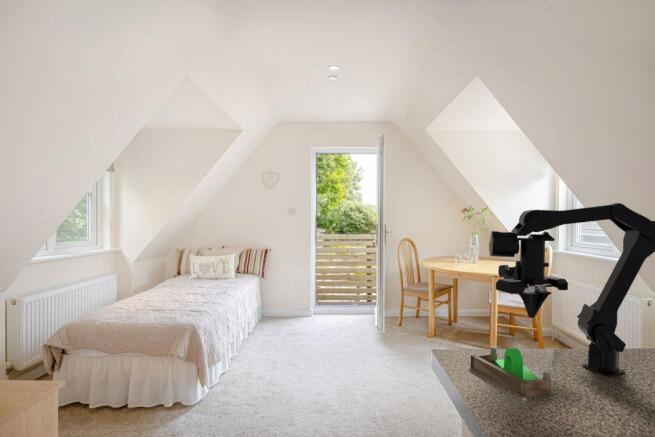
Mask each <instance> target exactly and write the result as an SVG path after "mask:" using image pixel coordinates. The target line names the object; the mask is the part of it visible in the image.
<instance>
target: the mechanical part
mask: <svg viewBox="0 0 655 437" xmlns="http://www.w3.org/2000/svg"><path fill="white" fill-rule="evenodd" d="M522 355H523V354H522V353H521V351H520V349H518V348H511V347H510V348H506V349H505V351H504V356H503V357H504V358H503V359H498V358H497V359H494V365H495V366H497V367H499V368H501V369H503V370H505V371H507V372H509V373H511V374H513V375H514V376H516V377H518V378H520V379H522V380H524V381H530V380H536V379H540V378H539V377H538V376H536V375H535V374H534V373H533V372H532V371H531V370H530V369H529V368H527V367H526V365H525V364H524V361H523V356H522Z"/></svg>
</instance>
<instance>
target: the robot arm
mask: <svg viewBox="0 0 655 437" xmlns="http://www.w3.org/2000/svg"><path fill="white" fill-rule="evenodd" d="M518 218H519V219H518V223H517V224H516V225H515V226H514V228H512V229H511V231H498V230H491V233H490V238H489V243H488V249H489V250H488V251H489V256H490V257H497V258H498V257H499V258H500V257H501V258H504V257H505V258H514V257H515V255H518V254H519V253H520V256H519V257H520V258H519V260H516V262H515V266H509V265H508V264H501V265H498V277H499V278H498V279H497V280H496V282H495V290H496V291H499V292H503V293H507V294H509V295H519V297H520V298H521V300H522V302H523V305H524V308H525V311H526V313H527V316H528V318H530V319H534V318H535V317H536V316H537V314H538V312H539V310H540V309H541V307H542V306H543V304H544V302H545V301H546V299H547V298H548V296H550V295H552V292H551V291H547V290H548V288H552V287H553V288H556V289H557V290H558V291H569V282H568V281H567V280H566V279H565V278H563V277H557V276H551V275H548V276H546V275H545V274H546V269H545V268H549V267H550V263H549V262H546V242H554V241H555V238H554V237H553V236H552V235H551V234H550V233H549V231H548V230H551V229H554V228H558V227H560V226H561V227H562V226H563V225H571V224H580V223H588V222H589V223H590V222H597V221H599V222H600V221H606V220H607V221H608V220H610V222H612V223H613V224H614V226H616V227H617V228H619V229H620V230H621V231H623V232H624V235H623V236H624V237H623V239H622V253H621V254H620V256H619V258H618V260H617V262H616V264H615V265H614V268H613V269H612V272H611V274H610V275H609V277H608V279H607V280H606V282H605V284H604V286H603V288H602V290H601V292H600V295H598V297H597V300H596V301H595V302H594V303H592V304H591V305H590V306H589V305H588V304H587V303H584V304H583V306H582V308H581V311H580V312H579V314H578V315H576V318H577V319H578V320H577V327H578V328H579V330H580V332H582V334H584V335H585V337H586V340H587V341H589V342H590V343H589V344H588V352H587V363H582V367H584V368H586V369H588V370H591V371H593V372H596V373H598V374H601V375H603V376H606V377H610V376H615V375H617V376H618V375H622V374H625V373H626V370H624V369H621V368H620V353H623V352H624V350H625V347H626V345H627V344H626V343H625V342H624V340H622V339H621V337H619V336H618V335H617V334H616V333H615V332H616V330H617V329H616V328H617V327H618V312H619V309H620V307H621V306H622V304H623V302H624V300H625V298H626V296H627V294H628V292H629V291H630V288H631V287H632V285H633V284H634V281H635V279H636V277H637V275H638V273H640V270H641V268H642V267H643V264H644V263H645V261H646V259H648V258H649V257H650V256H652V255H653V254H654V253H655V220H651V219H649V218H648V217H646V216H645V215H642V214H640V213H638V212H636V211H634V210H633V209H631V208H629V207H627V206H626V205H625V204H624V203H622V202H614V203H613V202H612V203H611V202H610V203H607V204H604V205H603V204H602V205H601V204H600V205H596V206H595V205H594V206H585V207H578V208H569V209H562V210H561V209H560V210H551V209H527V210H524V211H522V213H521V214H520V216H519V217H518ZM540 232H542V233H540ZM539 233H540V234H539ZM527 236H528V237H527Z"/></svg>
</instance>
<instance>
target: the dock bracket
mask: <svg viewBox="0 0 655 437" xmlns="http://www.w3.org/2000/svg"><path fill="white" fill-rule="evenodd" d="M489 349H490V351H489V352H485V353H477V354H471V355H470V367H471V368H472V369H473V370H475V371H477V372H478V373H481V374H482V375H484V376H486V377H487V378H489V379H491V380H492V381H494V382H496V383H498V384H499V385H501V386H503V387H505V388H506V389H508V390H510V391H511V392H513V393H515V394H517V395H519V396H520V397H523V398H524V399H529V398H535V397H541V396H545V395H546V396H547V395H551V394H552V381H553V380H552V378H551V374H552V373H551V372H550V371H547V370H545V371H542V372H543V373H542V378H539V379H536V380H530V381H524V380H522V379H520V378H518V377H516V376H514V375H513V374H511V373H509V372H507V371H505V370H503V369H501V368H499V367H497V366H495V365H494V359H497V360H498V353H497V346H490V348H489Z"/></svg>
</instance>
